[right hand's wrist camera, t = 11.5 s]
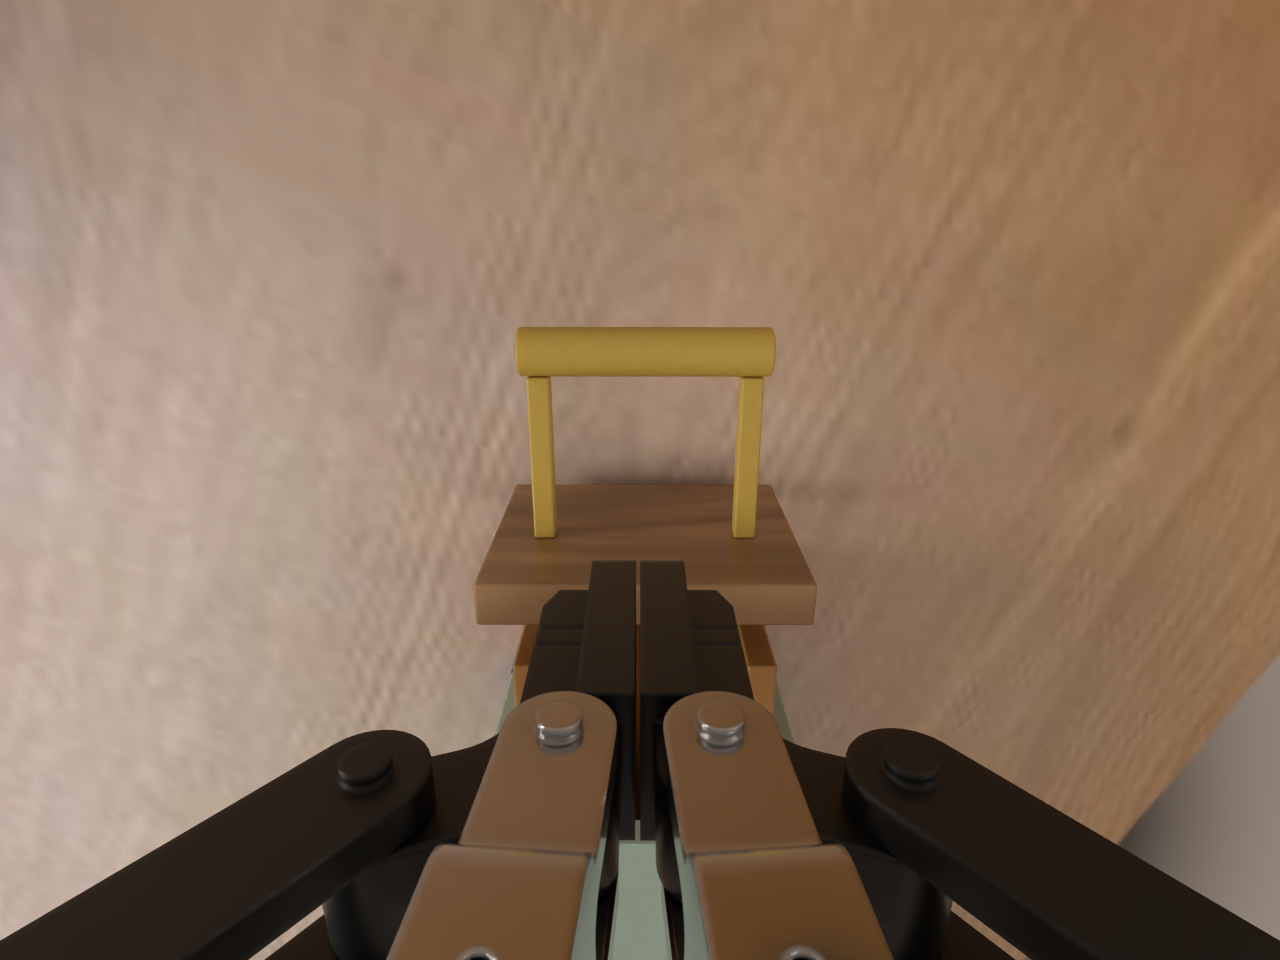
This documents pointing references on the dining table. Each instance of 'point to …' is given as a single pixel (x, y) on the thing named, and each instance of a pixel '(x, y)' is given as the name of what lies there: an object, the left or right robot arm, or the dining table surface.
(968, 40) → the dining table surface
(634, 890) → the cabinet
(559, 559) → the drawer
